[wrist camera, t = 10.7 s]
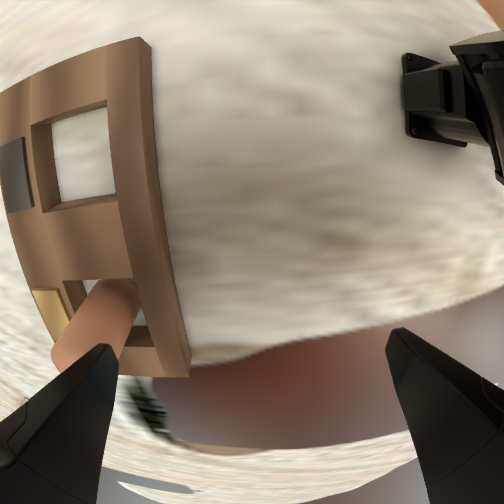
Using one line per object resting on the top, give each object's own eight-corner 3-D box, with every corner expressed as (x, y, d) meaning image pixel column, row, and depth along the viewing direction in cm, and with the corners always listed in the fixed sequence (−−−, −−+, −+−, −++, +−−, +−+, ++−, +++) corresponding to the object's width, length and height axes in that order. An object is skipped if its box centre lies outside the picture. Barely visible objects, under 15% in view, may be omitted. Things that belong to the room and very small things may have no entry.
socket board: (151, 47, 13) (137, 34, 10) (191, 356, 23) (188, 380, 20) (14, 96, 12) (-10, 96, 10) (78, 351, 22) (67, 371, 20)
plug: (134, 272, 19) (93, 346, 12) (146, 316, 21) (119, 393, 14) (90, 274, 19) (40, 340, 12) (104, 316, 21) (68, 386, 13)
